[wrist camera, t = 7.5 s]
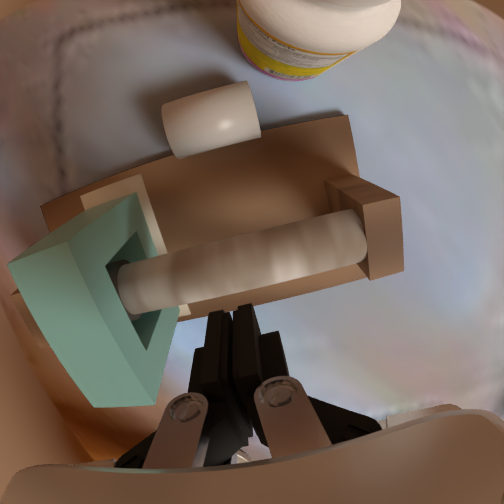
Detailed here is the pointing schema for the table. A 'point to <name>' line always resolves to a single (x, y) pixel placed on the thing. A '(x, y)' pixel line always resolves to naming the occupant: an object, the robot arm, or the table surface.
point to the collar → (97, 304)
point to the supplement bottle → (309, 33)
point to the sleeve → (210, 120)
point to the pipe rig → (247, 223)
